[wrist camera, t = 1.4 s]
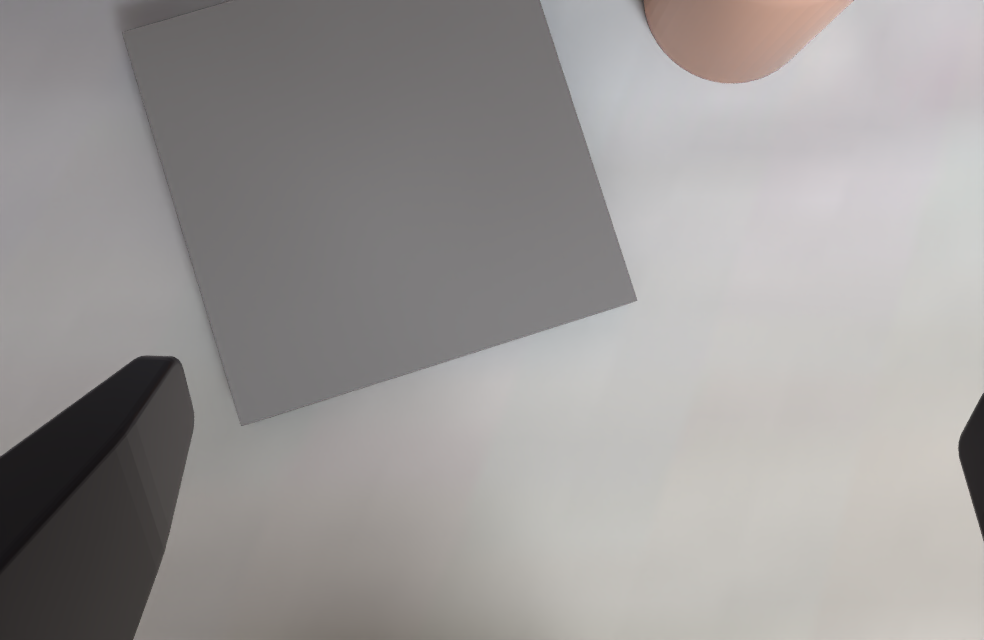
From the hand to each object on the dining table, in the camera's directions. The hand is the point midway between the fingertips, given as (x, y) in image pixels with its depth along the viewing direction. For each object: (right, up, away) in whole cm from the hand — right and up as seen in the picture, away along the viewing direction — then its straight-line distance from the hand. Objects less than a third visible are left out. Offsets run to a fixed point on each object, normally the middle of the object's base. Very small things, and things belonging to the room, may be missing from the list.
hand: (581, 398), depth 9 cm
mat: (-4, +5, +14) cm, 15 cm away
